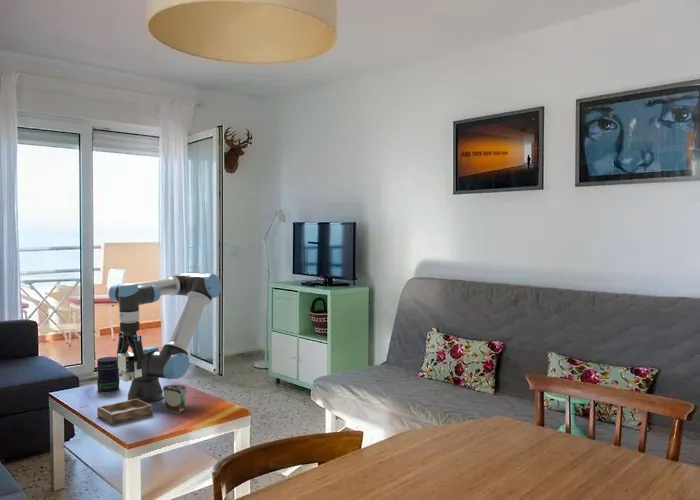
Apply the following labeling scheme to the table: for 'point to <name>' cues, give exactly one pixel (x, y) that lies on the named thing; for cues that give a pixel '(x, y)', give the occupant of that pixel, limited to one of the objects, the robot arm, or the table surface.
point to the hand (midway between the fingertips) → (131, 374)
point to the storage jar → (107, 374)
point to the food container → (175, 398)
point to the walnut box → (124, 411)
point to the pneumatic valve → (126, 365)
